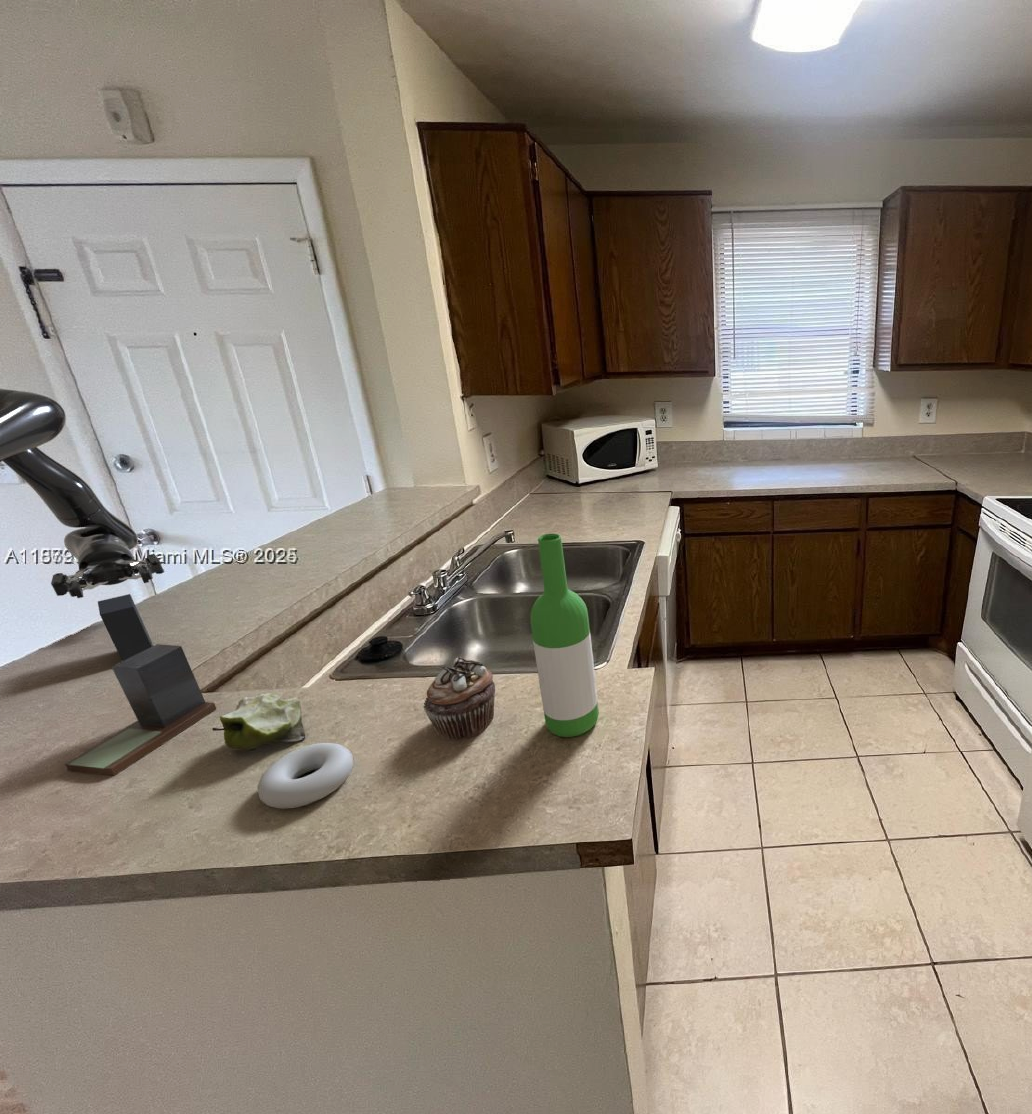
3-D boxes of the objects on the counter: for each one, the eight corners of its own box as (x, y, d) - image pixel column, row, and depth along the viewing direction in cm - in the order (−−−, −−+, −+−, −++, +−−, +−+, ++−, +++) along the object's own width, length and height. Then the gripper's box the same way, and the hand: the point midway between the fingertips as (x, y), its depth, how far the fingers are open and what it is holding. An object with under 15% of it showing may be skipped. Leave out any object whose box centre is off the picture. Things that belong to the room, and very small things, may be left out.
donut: (243, 802, 71) (297, 824, 68) (233, 781, 70) (289, 802, 66) (322, 750, 80) (374, 767, 76) (315, 730, 78) (367, 747, 75)
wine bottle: (543, 743, 81) (513, 550, 69) (548, 710, 88) (522, 528, 76) (598, 736, 83) (578, 545, 71) (600, 704, 90) (581, 525, 78)
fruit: (245, 777, 76) (209, 733, 73) (235, 748, 82) (201, 707, 79) (321, 733, 82) (291, 691, 78) (306, 709, 88) (277, 669, 84)
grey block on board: (66, 771, 75) (26, 702, 71) (176, 705, 88) (148, 643, 84) (113, 776, 74) (75, 706, 70) (217, 709, 87) (190, 646, 83)
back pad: (121, 650, 102) (97, 601, 98) (152, 642, 105) (130, 593, 101) (124, 665, 98) (99, 614, 94) (156, 656, 100) (133, 606, 96)
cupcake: (458, 698, 90) (446, 645, 86) (513, 707, 89) (503, 652, 85) (414, 738, 82) (399, 680, 78) (474, 749, 80) (461, 690, 76)
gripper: (44, 553, 107) (44, 579, 98) (148, 534, 117) (157, 555, 108) (62, 589, 110) (64, 617, 101) (162, 567, 120) (172, 591, 110)
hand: (112, 585), depth 104 cm, fingers open, 8 cm apart
